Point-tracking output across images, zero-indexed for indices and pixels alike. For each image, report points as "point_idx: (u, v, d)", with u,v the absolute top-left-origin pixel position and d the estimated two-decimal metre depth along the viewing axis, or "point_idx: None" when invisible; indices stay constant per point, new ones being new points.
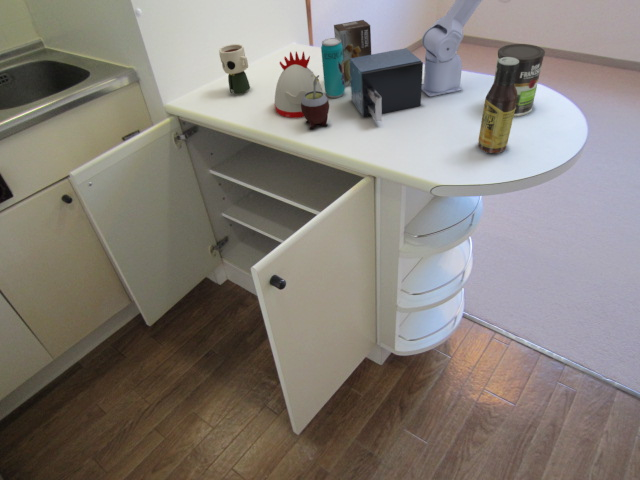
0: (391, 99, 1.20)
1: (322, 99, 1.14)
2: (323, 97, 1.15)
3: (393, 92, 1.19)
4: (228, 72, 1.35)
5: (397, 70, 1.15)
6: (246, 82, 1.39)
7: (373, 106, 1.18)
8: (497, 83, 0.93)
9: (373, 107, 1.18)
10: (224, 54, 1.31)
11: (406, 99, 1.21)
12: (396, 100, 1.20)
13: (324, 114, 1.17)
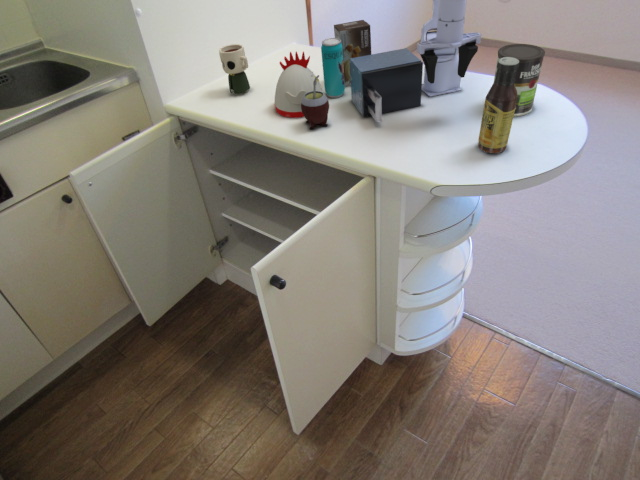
0: (391, 99, 1.20)
1: (322, 99, 1.14)
2: (323, 97, 1.15)
3: (393, 92, 1.19)
4: (228, 72, 1.35)
5: (397, 70, 1.15)
6: (246, 82, 1.39)
7: (373, 106, 1.18)
8: (497, 83, 0.93)
9: (373, 107, 1.18)
10: (224, 54, 1.31)
11: (406, 99, 1.21)
12: (396, 100, 1.20)
13: (324, 114, 1.17)
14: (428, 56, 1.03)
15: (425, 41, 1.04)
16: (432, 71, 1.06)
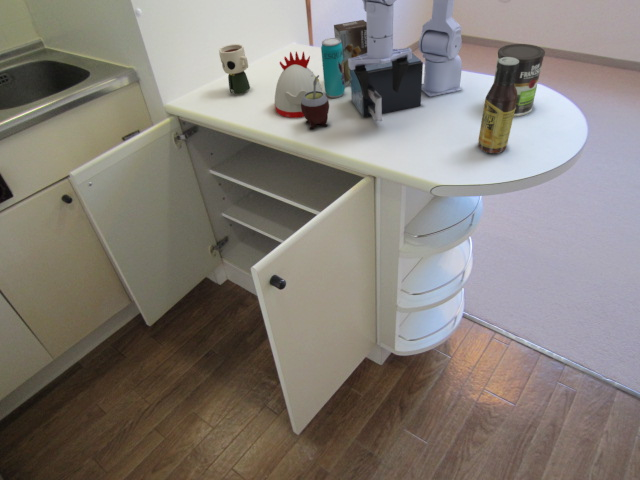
0: (391, 99, 1.20)
1: (322, 99, 1.14)
2: (323, 97, 1.15)
3: (393, 92, 1.19)
4: (228, 72, 1.35)
5: None
6: (246, 82, 1.39)
7: (373, 106, 1.18)
8: (497, 83, 0.93)
9: (373, 107, 1.18)
10: (224, 54, 1.31)
11: (406, 99, 1.21)
12: (396, 100, 1.20)
13: (324, 114, 1.17)
14: (359, 72, 1.04)
15: (356, 57, 1.05)
16: (364, 86, 1.07)
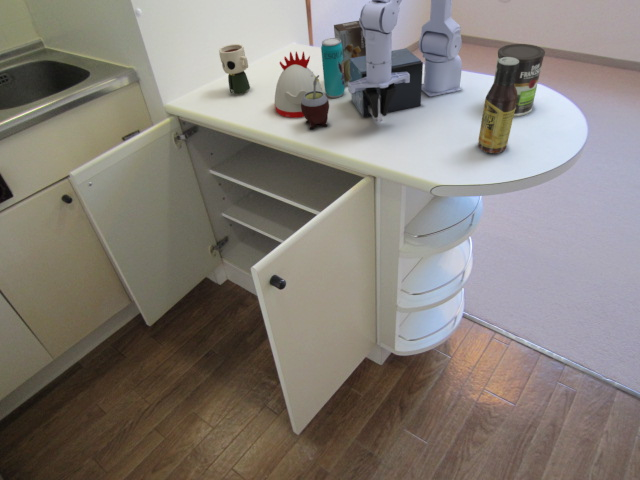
0: (391, 99, 1.20)
1: (322, 99, 1.14)
2: (323, 97, 1.15)
3: None
4: (228, 72, 1.35)
5: (397, 70, 1.15)
6: (246, 82, 1.39)
7: None
8: (497, 83, 0.93)
9: None
10: (224, 54, 1.31)
11: (406, 99, 1.21)
12: (396, 100, 1.20)
13: (324, 114, 1.17)
14: (369, 93, 1.08)
15: (356, 81, 1.08)
16: (375, 106, 1.11)
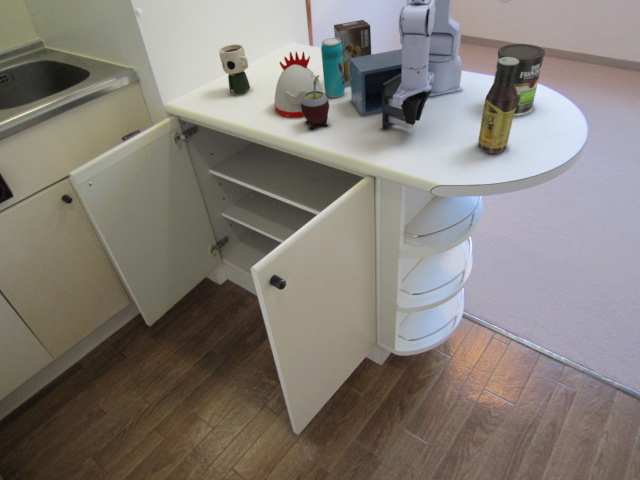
0: None
1: (322, 99, 1.14)
2: (323, 97, 1.15)
3: None
4: (228, 72, 1.35)
5: None
6: (246, 82, 1.39)
7: (394, 115, 1.13)
8: (497, 83, 0.93)
9: (396, 116, 1.13)
10: (224, 54, 1.31)
11: None
12: None
13: (324, 114, 1.17)
14: (414, 100, 1.03)
15: (397, 91, 1.02)
16: (415, 113, 1.06)
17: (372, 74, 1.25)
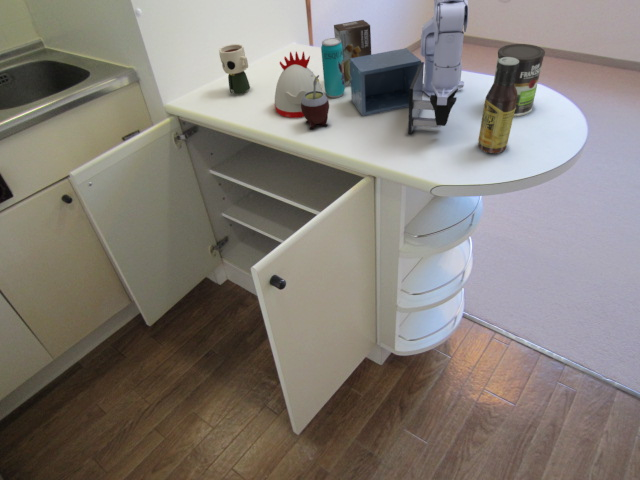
0: None
1: (322, 99, 1.14)
2: (323, 97, 1.15)
3: (417, 99, 1.14)
4: (228, 72, 1.35)
5: (419, 75, 1.11)
6: (246, 82, 1.39)
7: (419, 118, 1.11)
8: (497, 83, 0.93)
9: (421, 118, 1.11)
10: (224, 54, 1.31)
11: None
12: None
13: (324, 114, 1.17)
14: (451, 100, 1.01)
15: (437, 92, 1.00)
16: None
17: (372, 74, 1.25)
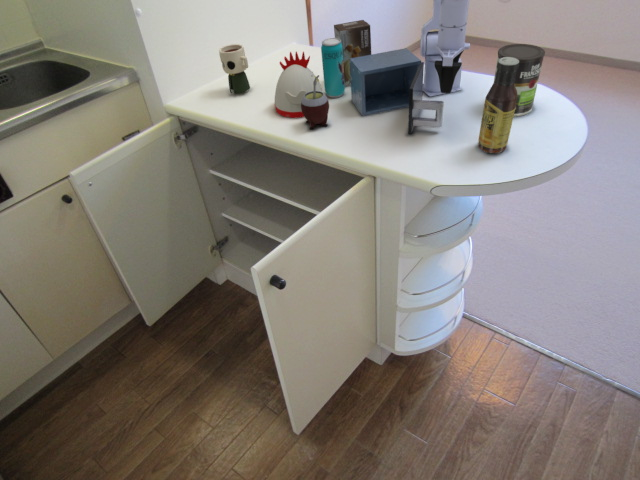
0: None
1: (322, 99, 1.14)
2: (323, 97, 1.15)
3: (417, 99, 1.14)
4: (228, 72, 1.35)
5: (419, 75, 1.11)
6: (246, 82, 1.39)
7: (419, 118, 1.11)
8: (497, 83, 0.93)
9: (421, 118, 1.11)
10: (224, 54, 1.31)
11: None
12: None
13: (324, 114, 1.17)
14: (456, 65, 0.98)
15: (443, 53, 0.98)
16: (454, 79, 1.02)
17: (372, 74, 1.25)
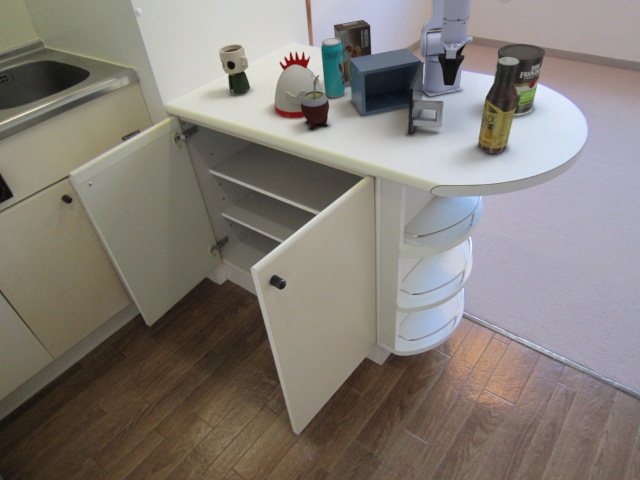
0: None
1: (322, 99, 1.14)
2: (323, 97, 1.15)
3: (417, 99, 1.14)
4: (228, 72, 1.35)
5: (419, 75, 1.11)
6: (246, 82, 1.39)
7: (419, 118, 1.11)
8: (497, 83, 0.93)
9: (421, 118, 1.11)
10: (224, 54, 1.31)
11: None
12: None
13: (324, 114, 1.17)
14: (459, 58, 1.01)
15: (446, 46, 1.01)
16: (457, 72, 1.04)
17: (372, 74, 1.25)
